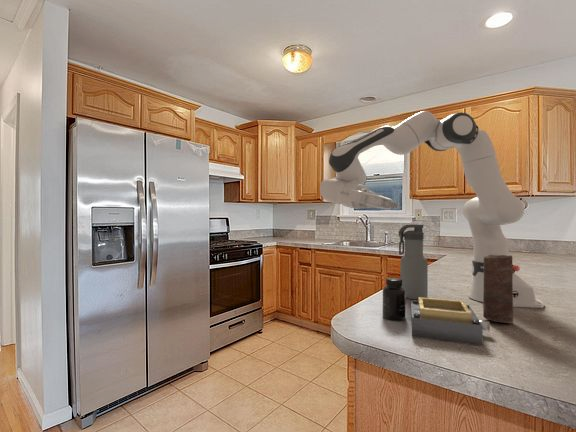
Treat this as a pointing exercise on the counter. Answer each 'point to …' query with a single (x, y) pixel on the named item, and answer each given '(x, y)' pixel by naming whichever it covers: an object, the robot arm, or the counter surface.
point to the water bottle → (413, 262)
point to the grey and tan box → (446, 321)
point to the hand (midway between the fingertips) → (389, 204)
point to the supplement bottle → (394, 300)
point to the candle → (498, 288)
